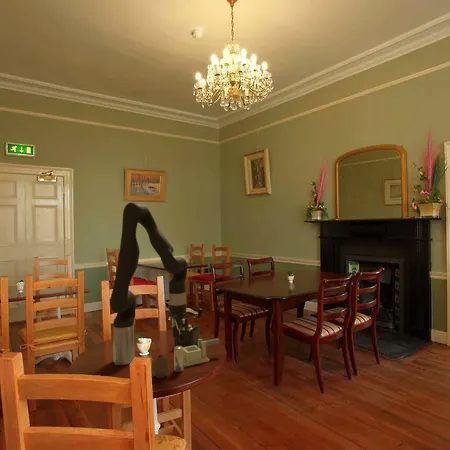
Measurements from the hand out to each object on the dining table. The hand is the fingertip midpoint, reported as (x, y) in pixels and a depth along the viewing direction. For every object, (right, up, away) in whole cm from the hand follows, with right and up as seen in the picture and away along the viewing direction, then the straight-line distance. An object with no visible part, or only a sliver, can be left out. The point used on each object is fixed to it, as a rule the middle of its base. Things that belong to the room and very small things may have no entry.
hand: (178, 339), depth 159 cm
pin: (+13, -7, +15) cm, 21 cm away
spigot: (0, -14, 0) cm, 14 cm away
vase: (-7, -14, -6) cm, 17 cm away
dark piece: (+2, -13, +33) cm, 36 cm away
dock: (+5, -14, +11) cm, 18 cm away
